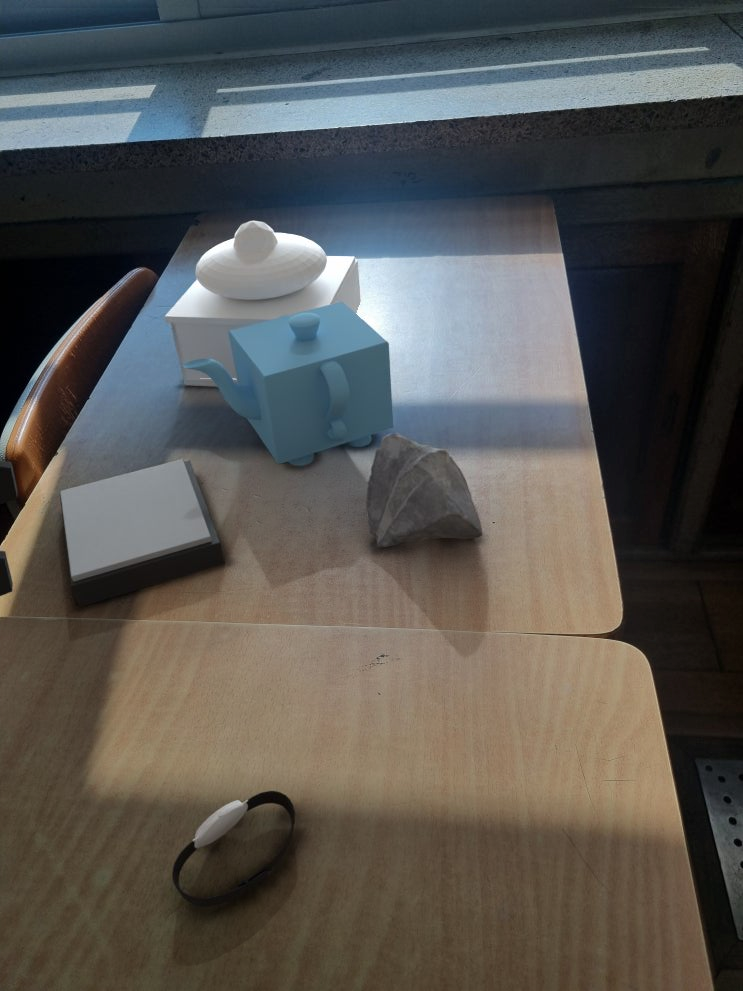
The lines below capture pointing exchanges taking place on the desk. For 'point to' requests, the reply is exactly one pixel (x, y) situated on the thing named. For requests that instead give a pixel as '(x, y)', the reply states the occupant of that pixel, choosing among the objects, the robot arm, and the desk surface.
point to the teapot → (308, 381)
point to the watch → (221, 825)
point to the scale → (137, 531)
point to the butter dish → (254, 291)
